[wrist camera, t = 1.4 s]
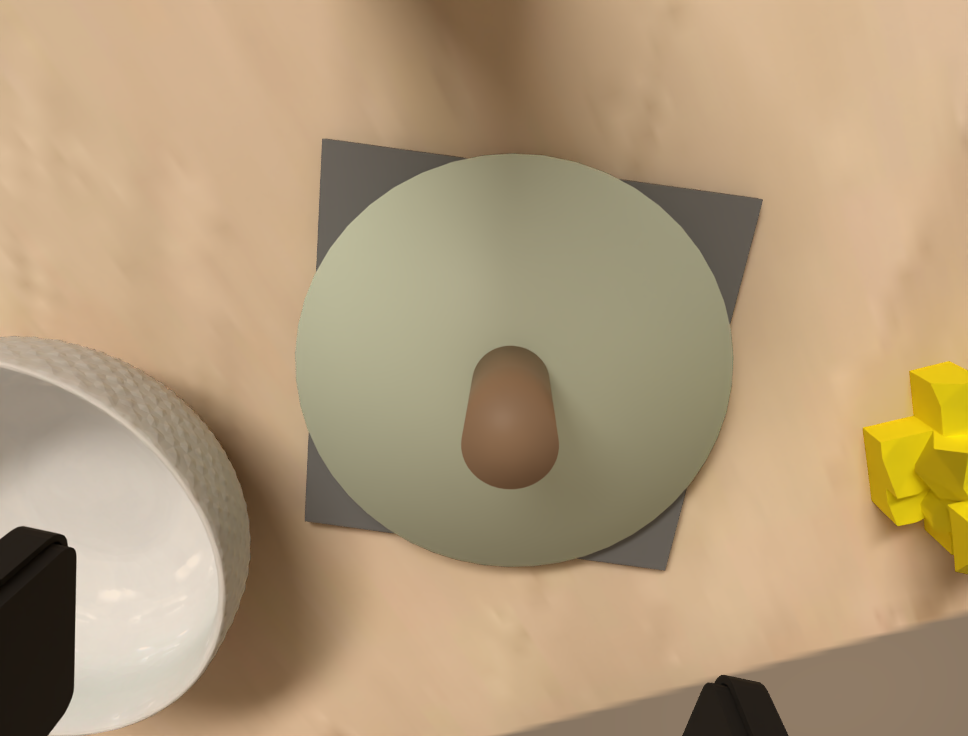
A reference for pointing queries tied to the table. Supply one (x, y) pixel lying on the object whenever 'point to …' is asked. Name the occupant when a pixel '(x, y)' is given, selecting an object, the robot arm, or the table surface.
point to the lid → (514, 360)
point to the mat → (376, 170)
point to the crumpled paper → (926, 459)
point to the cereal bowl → (123, 522)
